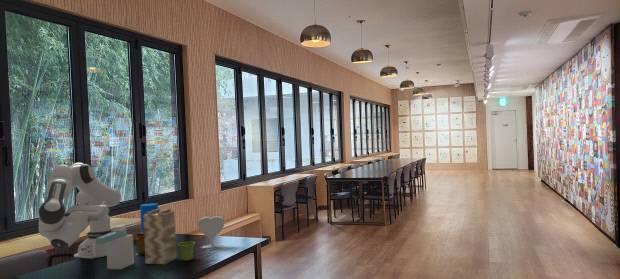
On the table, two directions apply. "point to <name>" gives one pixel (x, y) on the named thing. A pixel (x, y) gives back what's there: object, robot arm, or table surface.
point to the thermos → (145, 209)
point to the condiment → (140, 243)
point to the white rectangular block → (120, 252)
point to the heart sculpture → (211, 228)
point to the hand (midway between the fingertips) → (96, 201)
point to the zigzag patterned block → (159, 237)
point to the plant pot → (186, 250)
